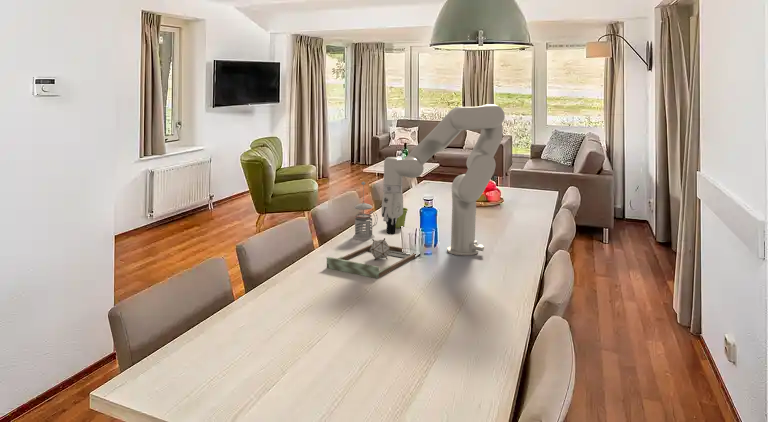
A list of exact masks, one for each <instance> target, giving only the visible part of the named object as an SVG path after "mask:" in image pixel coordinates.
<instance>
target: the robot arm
mask: <svg viewBox="0 0 768 422" xmlns="http://www.w3.org/2000/svg"><path fill="white" fill-rule="evenodd" d="M505 117H506V116H505V111H504V109H503V108H502V107H501V106H499V105H497V104H491V103H490V104H489V103H487V104H483V105H479V106H478V105H477V106H455V107H453V108H451V110H450V111H449V112H448V113H447V114H446V115H445V116H444V117H443V118H442V119H441V120H440V122H439V123H437V125H436V126H435V127H434V128H433V129H432V130H431V131H430V132H429V133H428V134H427V135H426V136H425V137H424V138H423V139H422V140H421V141H420V142H418V144H417V145H416V146H415V147H414V148H412V150H411V151H410V152H409V153H408V154H407V156H405V158H401V157H397V156H390V157H389V156H388V157H386V158H385V159H384V162H383V184H382V185H383V187H382V188H383V189H382V193H383V194H382V199H381V201H382V202H381V210H380V212H381V217H382V218H383V220H382V221H383V222H385V224H386V234H387V235H391V236H393V235H396V229H397V228H396V222H397V218H399V216H401V215H403V208H404V195H403V177H404V178H405V177H406V178H412V179H415V178H418V177H420V176H421V175H423V173H424V165H425V164H426V163H427V162H428V160H429V159H431V158H432V157H433V156H434V155H436V154H437V153H439V152H442V151H443V150H445V149H446V148H447V147H448V146H449V145H450V144H451V143H452V142H453V141H454V140H455V139H456V138H457V136H458V135H459V134H460V133H461V132H463V131H472V130H474V131H475V130H480V134H479V137H478V138H477V140H476V143H475V144H474V146H473V148H472V150H471V152H470V153H469V155H468V157H467V158H466V167H467V170H466V172H465V173H463V174H459V175H457V176H456V177H455V178H454V179H453V181H452V184H451V199H452V200H451V203H452V204H451V206H452V207H451V230H450V231H451V232H450V233H451V234H450V245H449V246H447V248H446V252H447V253H448V254H451V255H454V256H461V257H462V256H463V257H464V256H465V257H467V256H468V257H469V256H473V255H474V256H475V255H477V254H478V253H479V252H484V250H485V247H484V245H483V244H478V240H475V239H476V219H477V217H476V215H477V201H478V200H479V199H480V198H481V196H482V195H483V194H484V192H485V191H486V188H487V186H488V185H489V183H490V181H491V180H492V177H493V176H494V173H495V171H496V170H495V169H496V168H497V167H496V166H497V165H496V160H495V159H496V158H494V157H495V155H496V153H497V151H498V149H499V147H500V145H501V143H502V141H503V135H504V129H503V122H504V121H505Z"/></svg>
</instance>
